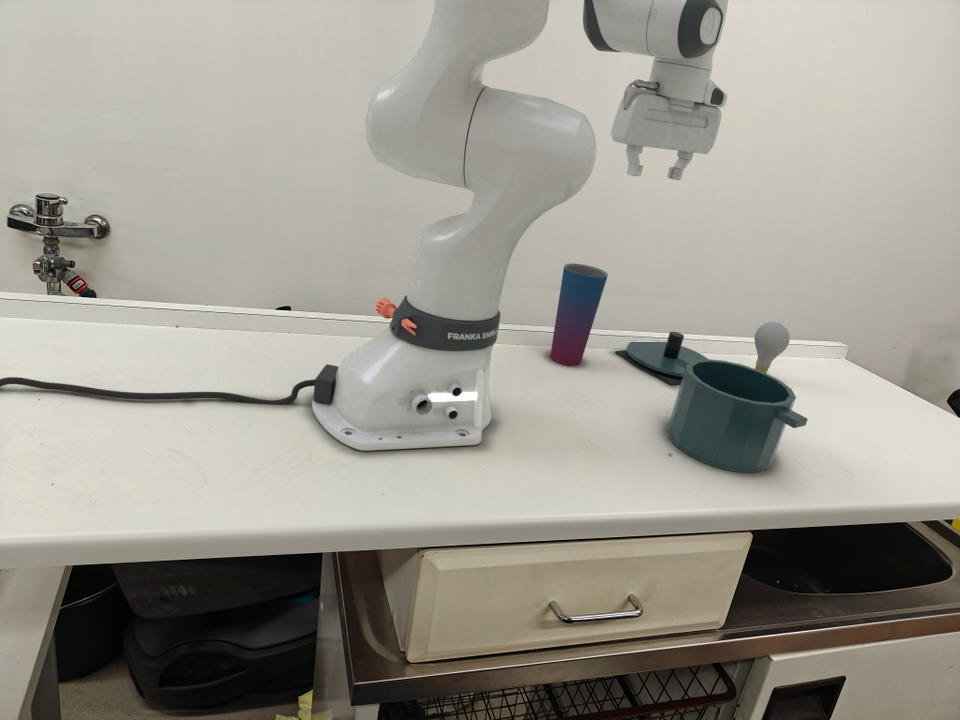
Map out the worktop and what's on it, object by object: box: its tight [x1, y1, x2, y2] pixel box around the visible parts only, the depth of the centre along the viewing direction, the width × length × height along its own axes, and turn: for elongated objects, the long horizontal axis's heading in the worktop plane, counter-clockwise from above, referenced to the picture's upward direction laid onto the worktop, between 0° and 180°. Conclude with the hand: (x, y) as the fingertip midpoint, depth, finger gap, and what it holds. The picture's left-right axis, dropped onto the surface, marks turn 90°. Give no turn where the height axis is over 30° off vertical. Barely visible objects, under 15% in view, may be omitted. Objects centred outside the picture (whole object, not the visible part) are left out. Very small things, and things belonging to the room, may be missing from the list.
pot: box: [667, 356, 809, 474], centre depth 94 cm, size 14×19×10 cm
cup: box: [549, 263, 609, 367], centre depth 113 cm, size 7×7×15 cm
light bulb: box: [753, 321, 791, 374], centre depth 121 cm, size 6×6×10 cm
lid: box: [626, 331, 709, 377], centre depth 121 cm, size 15×15×5 cm
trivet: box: [614, 349, 683, 387], centre depth 121 cm, size 13×13×1 cm
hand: (654, 177), depth 116 cm, fingers open, 8 cm apart
